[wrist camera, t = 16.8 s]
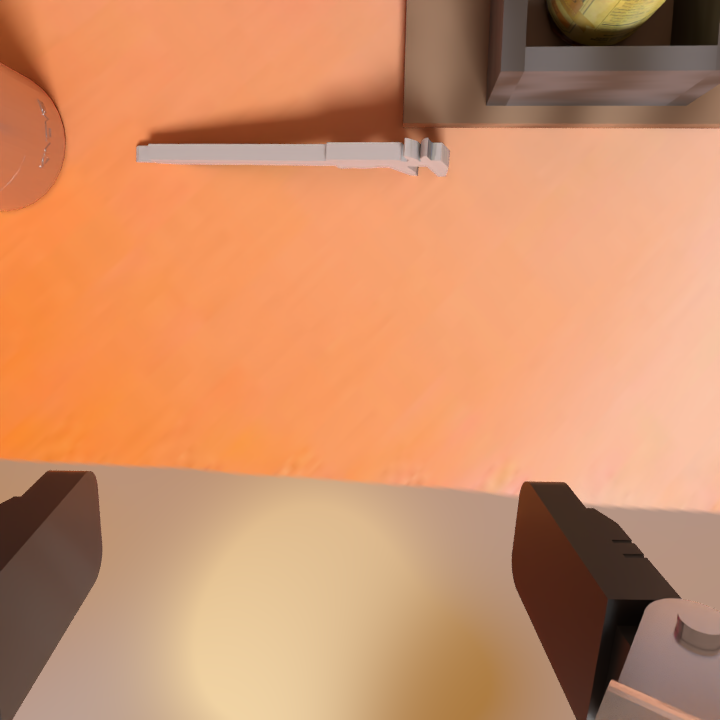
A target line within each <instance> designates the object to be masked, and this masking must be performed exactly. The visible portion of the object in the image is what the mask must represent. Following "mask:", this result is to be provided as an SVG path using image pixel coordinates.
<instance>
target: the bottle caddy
mask: <svg viewBox="0 0 720 720" xmlns="http://www.w3.org/2000/svg"><path fill="white" fill-rule="evenodd" d="M403 128H720V0H666V1H665V2H664V3H663V4H662V5H661V6H660V7H659V8H658V9H657V10H656V11H655V13H654V14H653V15H652V16H651V17H650V18H649V19H648V20H647V21H646V22H645V23H644V24H643V25H642V26H641V27H640V28H639V29H638V30H637V31H636V32H634V33H633V34H632V35H631V36H629V37H628V38H626V39H625V40H623V41H622V42H618V43H617V44H614V45H612V46H572V45H571V44H568V43H567V42H565V41H563V40H562V39H560V37H558V35H557V34H556V33H555V32H553V30H552V27H551V25H550V21H549V20H548V15H547V12H546V4H545V0H407V9H406V43H405V78H404V113H403Z"/></svg>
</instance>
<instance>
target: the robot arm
mask: <svg viewBox="0 0 720 720" xmlns="http://www.w3.org/2000/svg"><path fill="white" fill-rule="evenodd" d="M64 153H65V136H64V128H63V124H62V121H61V118H60V115H59V112H58V110H57V109H56V107H55V105H54V103H53V102H52V100H51V98H50V97H49V96H48V95H47V94H46V93H45V92H44V90H43V89H42V88H41V87H40V86H38V85H37V84H36V83H34V82H33V81H32V80H30V79H29V78H27V77H25V76H24V75H22V74H20V73H18V72H16V71H15V70H13V69H11V68H9V67H7V66H6V65H4V64H2V63H0V211H11V210H16V209H21V208H24V207H26V206H28V205H30V204H32V203H34V202H36V201H37V200H38V199H39V198H41V197H42V196H43V195H45V194H46V192H47V191H48V190H49V189H50V188H51V186H52V185H53V184H54V182H55V180H56V178H57V176H58V174H59V172H60V170H61V167H62V163H63V159H64ZM631 541H632V540H631V539H630V538H629V537H628V535H627V534H626V533H625V532H624V531H623V530H622V528H621V527H620V526H619V525H618V524H617V523H616V522H614V521H613V520H611V519H610V518H608V517H607V516H605V515H603V514H602V513H600V512H599V511H597V510H596V509H594V508H586V507H585V506H584V505H583V504H582V502H581V501H580V500H579V499H578V497H577V496H576V495H575V494H574V492H573V491H572V490H571V489H570V487H569V486H568V485H567V484H566V483H564V482H524V483H523V485H522V487H521V490H520V495H519V503H518V512H517V519H516V527H515V535H514V542H513V550H512V573H513V579H514V583H515V587H516V589H517V591H518V593H519V596H520V598H521V600H522V602H523V604H524V606H525V609H526V611H527V613H528V615H529V617H530V620H531V622H532V624H533V626H534V628H535V630H536V633H537V635H538V637H539V639H540V641H541V643H542V646H543V648H544V650H545V652H546V654H547V656H548V659H549V661H550V663H551V665H552V667H553V669H554V672H555V674H556V676H557V678H558V680H559V682H560V685H561V687H562V689H563V691H564V693H565V695H566V698H567V700H568V702H569V704H570V706H571V709H572V710H573V713H574V715H575V717H576V719H577V720H720V611H718V610H716V609H714V608H712V607H709V606H707V605H704V604H701V603H698V602H694V601H690V600H685V599H681V598H680V596H679V595H678V594H677V593H676V592H675V590H674V589H673V588H672V587H671V586H670V585H669V583H668V582H667V581H666V580H665V579H664V578H663V576H662V575H661V574H660V573H659V572H658V570H657V569H656V568H655V567H654V566H653V565H652V563H651V562H650V561H649V560H648V559H647V558H644V554H643V553H642V552H641V551H640V549H639V548H638V547H637V546H636V545H635V544H634V543H632V542H631ZM101 559H102V537H101V526H100V511H99V499H98V487H97V480H96V477H95V475H94V473H93V472H91V471H47V472H46V473H45V474H44V475H43V476H42V477H41V478H40V479H39V480H38V481H37V482H36V483H35V484H34V485H33V486H32V487H30V489H29V490H27V491H26V492H25V494H23V495H22V496H21V497H13V498H11V499H9V500H7V501H5V502H3V503H1V504H0V720H12V719H13V717H14V716H15V714H16V712H17V711H18V709H19V707H20V706H21V704H22V702H23V701H24V699H25V697H26V696H27V694H28V693H29V691H30V689H31V688H32V686H33V684H34V683H35V681H36V679H37V677H38V676H39V674H40V673H41V671H42V669H43V668H44V666H45V664H46V663H47V661H48V659H49V658H50V656H51V654H52V653H53V651H54V649H55V648H56V646H57V644H58V643H59V641H60V640H61V638H62V636H63V634H64V633H65V631H66V629H67V628H68V626H69V625H70V623H71V621H72V620H73V618H74V616H75V615H76V613H77V611H78V610H79V608H80V606H81V605H82V603H83V601H84V600H85V598H86V597H87V595H88V593H89V591H90V590H91V588H92V587H93V585H94V583H95V581H96V579H97V577H98V573H99V569H100V566H101Z"/></svg>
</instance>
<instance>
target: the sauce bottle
mask: <svg viewBox="0 0 720 720" xmlns="http://www.w3.org/2000/svg"><path fill="white" fill-rule="evenodd" d="M665 1H666V0H545V4H546V12H547V15H548V20H549V21H550V25H551V27H552V30H553V32H555V33H556V34H557V35H558V37H560V39H562V40H563V41H565V42H567V43H568V44H571V45H572V46H612V45H614V44H617V43H618V42H622V41H623V40H625V39H626V38H628V37H629V36H631V35H632V34H633V33H634V32H636V31H637V30H638V29H639V28H640V27H641V26H642V25H643V24H644V23H645V22H646V21H647V20H648V19H649V18H650V17H651V16H652V15H653V14H654V13H655V11H656V10H657V9H658V8H659V7H660V6H661V5H662V4H663V3H664V2H665Z"/></svg>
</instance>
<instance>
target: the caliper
mask: <svg viewBox="0 0 720 720" xmlns="http://www.w3.org/2000/svg"><path fill="white" fill-rule="evenodd" d="M449 154H450V150H449V149H448V148H447V147H446V146H445V145H444V144H443V143H432V142H431V141H430V140H429V138H424V139H423V140H422V141H421V144H420V143H419V142H417V141H415V140H412V139H409V138H404V144H402V143H401V142H327V144H148V146H137V162H156V163H164V164H206V165H306V166H336V167H338V168H361V169H366V168H377V167H389V168H391V169H394V170H397V171H399V172H402V173H405V174H408V175H415V176H418V167H426V166H427V167H428V168H429V169H430V170H431V171H432V172H434V173H435V174H436V175H437V176H438V177H440V176H446V174H447V171H448V167H449Z"/></svg>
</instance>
